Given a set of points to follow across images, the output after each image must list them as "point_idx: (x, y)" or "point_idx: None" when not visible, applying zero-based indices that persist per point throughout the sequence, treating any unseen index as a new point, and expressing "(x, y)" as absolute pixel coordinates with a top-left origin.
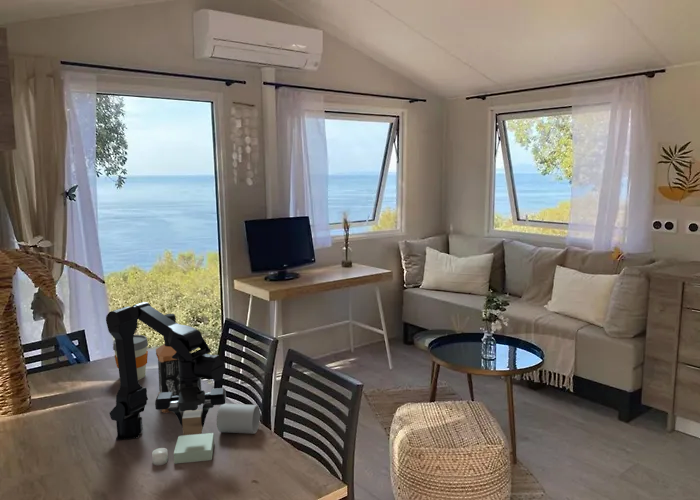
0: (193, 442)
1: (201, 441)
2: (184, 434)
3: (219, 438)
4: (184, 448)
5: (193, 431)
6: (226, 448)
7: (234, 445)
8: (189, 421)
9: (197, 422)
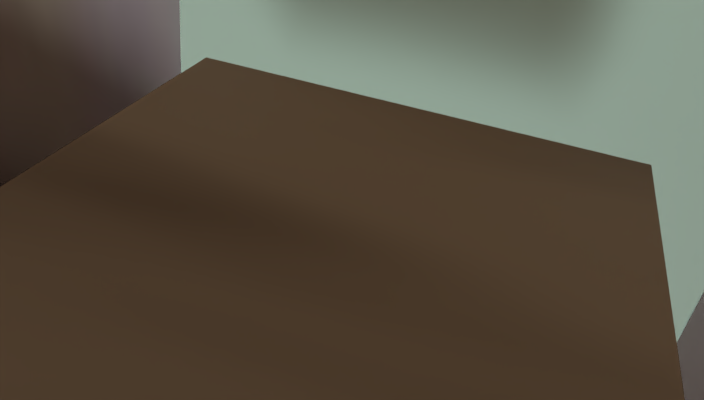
0: None
1: None
2: (612, 165)
3: None
4: (628, 29)
5: (359, 131)
6: (108, 37)
7: (38, 67)
8: (349, 373)
9: (90, 235)
